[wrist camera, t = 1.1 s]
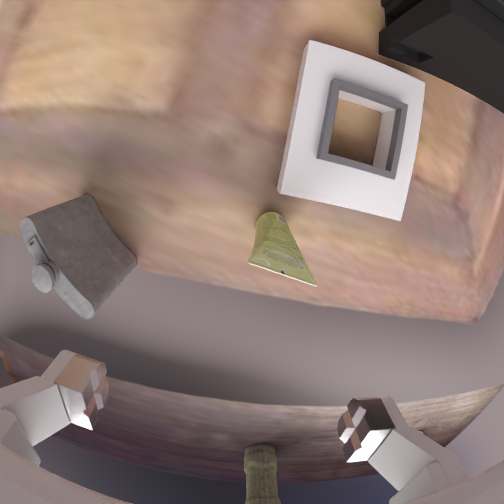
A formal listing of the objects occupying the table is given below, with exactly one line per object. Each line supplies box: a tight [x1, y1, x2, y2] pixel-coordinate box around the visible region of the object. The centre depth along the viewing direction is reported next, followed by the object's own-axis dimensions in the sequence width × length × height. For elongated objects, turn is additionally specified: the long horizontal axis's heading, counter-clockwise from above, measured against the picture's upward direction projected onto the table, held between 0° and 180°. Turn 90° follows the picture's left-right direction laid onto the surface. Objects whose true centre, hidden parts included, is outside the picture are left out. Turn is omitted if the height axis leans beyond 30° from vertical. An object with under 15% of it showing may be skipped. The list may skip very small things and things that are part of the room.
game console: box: [379, 0, 504, 113], centre depth 21 cm, size 35×30×27 cm
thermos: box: [244, 444, 280, 504], centre depth 52 cm, size 9×12×35 cm
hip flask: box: [20, 195, 137, 319], centre depth 37 cm, size 16×4×20 cm, turn 33°
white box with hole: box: [277, 40, 425, 221], centre depth 39 cm, size 24×20×7 cm
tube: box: [248, 212, 317, 286], centre depth 38 cm, size 6×5×20 cm
